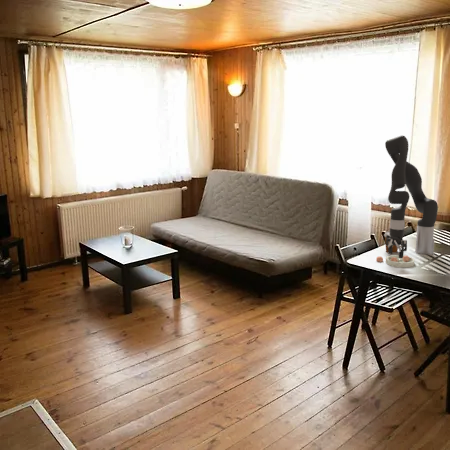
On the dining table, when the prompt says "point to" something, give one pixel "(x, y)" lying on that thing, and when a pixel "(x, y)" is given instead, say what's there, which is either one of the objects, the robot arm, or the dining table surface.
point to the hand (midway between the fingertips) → (395, 255)
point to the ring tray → (399, 261)
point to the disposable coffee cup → (388, 242)
